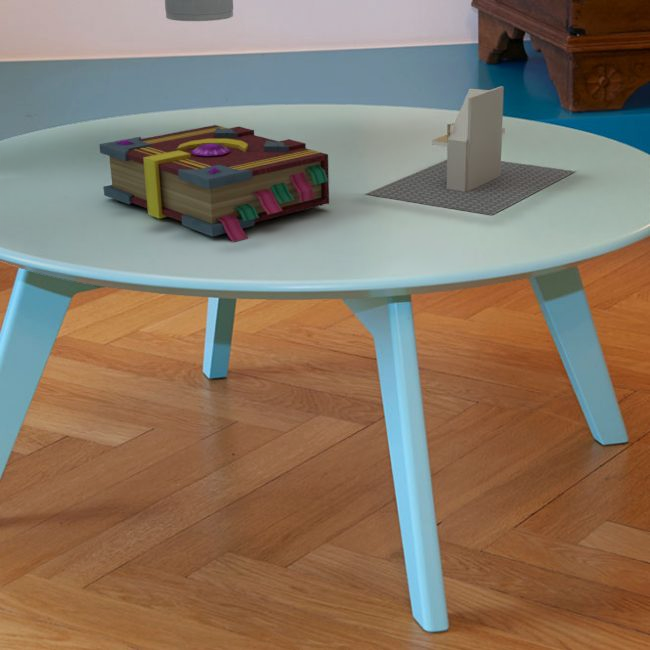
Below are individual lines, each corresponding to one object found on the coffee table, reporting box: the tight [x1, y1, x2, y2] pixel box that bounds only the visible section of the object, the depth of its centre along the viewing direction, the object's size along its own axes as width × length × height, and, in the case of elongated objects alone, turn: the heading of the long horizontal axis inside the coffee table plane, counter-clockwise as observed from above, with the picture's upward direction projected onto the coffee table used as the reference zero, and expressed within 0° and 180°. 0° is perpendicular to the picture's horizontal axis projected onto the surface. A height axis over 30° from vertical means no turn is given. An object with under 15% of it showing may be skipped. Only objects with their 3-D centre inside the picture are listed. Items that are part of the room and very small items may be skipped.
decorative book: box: [98, 124, 330, 243], centre depth 87 cm, size 11×16×5 cm
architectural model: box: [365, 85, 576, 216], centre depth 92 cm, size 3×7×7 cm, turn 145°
